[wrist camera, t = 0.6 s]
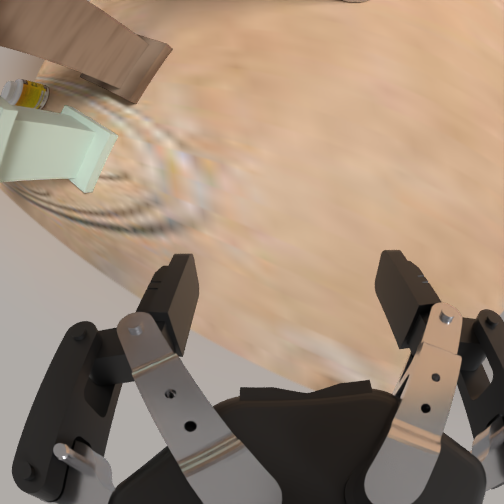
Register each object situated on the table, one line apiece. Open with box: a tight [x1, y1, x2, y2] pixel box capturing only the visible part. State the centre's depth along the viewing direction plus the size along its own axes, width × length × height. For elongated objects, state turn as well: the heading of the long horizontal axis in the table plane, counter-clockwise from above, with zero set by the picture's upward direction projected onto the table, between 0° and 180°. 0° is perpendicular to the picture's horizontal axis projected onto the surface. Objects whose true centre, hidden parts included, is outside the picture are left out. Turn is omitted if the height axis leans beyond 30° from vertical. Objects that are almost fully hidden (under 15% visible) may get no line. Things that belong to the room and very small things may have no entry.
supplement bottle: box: [1, 79, 49, 109], centre depth 33 cm, size 6×6×10 cm
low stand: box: [0, 96, 118, 193], centre depth 27 cm, size 16×12×22 cm
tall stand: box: [0, 0, 173, 104], centre depth 18 cm, size 16×12×32 cm
